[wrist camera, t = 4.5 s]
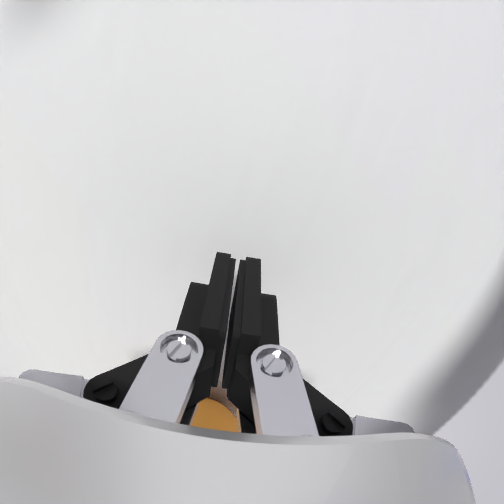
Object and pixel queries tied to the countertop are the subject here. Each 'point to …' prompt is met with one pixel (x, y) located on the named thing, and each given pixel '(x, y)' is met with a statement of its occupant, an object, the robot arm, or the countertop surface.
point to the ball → (214, 416)
